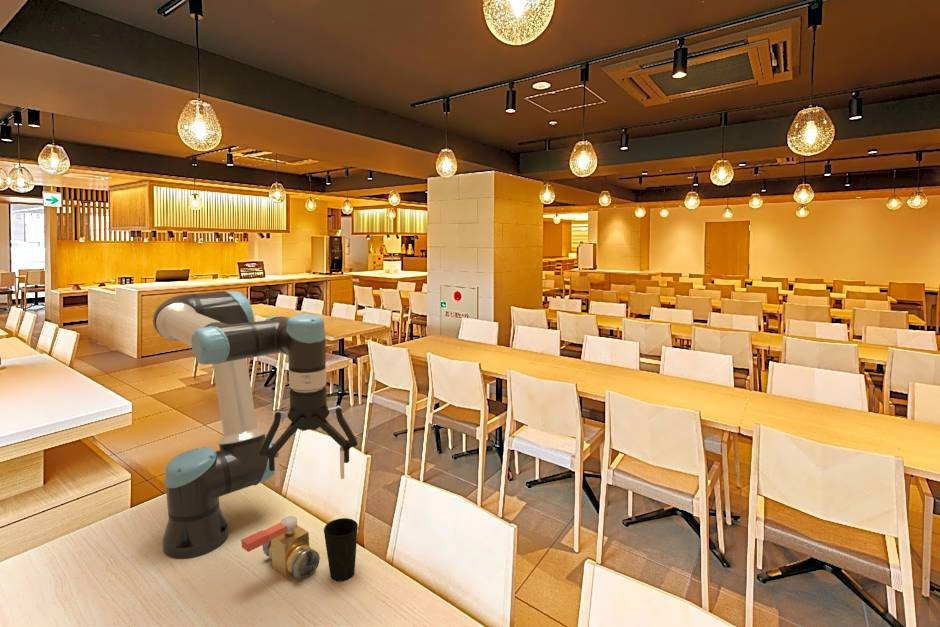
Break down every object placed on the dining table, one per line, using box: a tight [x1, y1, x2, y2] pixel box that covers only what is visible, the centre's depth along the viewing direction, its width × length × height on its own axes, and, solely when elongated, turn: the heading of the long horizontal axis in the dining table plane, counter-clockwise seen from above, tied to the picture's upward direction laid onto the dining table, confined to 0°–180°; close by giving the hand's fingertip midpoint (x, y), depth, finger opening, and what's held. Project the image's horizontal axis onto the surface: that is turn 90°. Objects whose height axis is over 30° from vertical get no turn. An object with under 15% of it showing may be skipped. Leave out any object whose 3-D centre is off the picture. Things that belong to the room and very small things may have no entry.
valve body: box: [262, 524, 321, 581], centre depth 123 cm, size 14×7×10 cm, turn 51°
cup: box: [323, 517, 359, 583], centre depth 120 cm, size 8×8×12 cm
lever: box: [240, 515, 298, 553], centre depth 119 cm, size 13×4×2 cm, turn 141°
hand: (310, 479), depth 113 cm, fingers open, 13 cm apart
